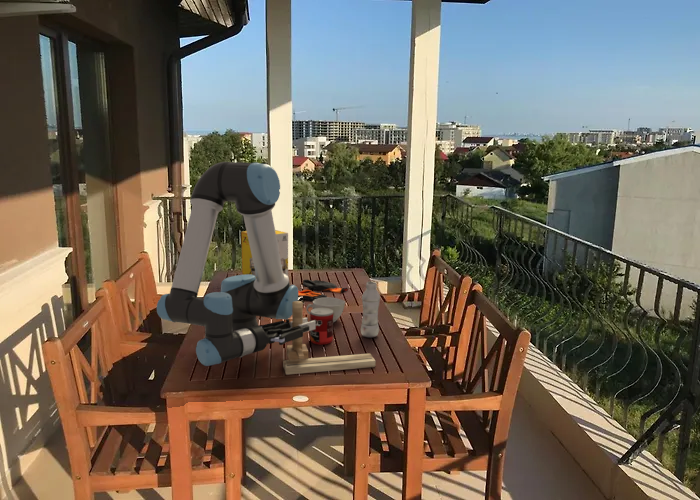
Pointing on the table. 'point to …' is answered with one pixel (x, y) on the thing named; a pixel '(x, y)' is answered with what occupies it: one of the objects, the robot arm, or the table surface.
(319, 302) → the teacup
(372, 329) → the plastic bottle
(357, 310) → the table surface
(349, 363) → the board
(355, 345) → the table surface
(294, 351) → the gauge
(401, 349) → the table surface
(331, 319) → the canned food
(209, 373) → the table surface
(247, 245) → the packaging box
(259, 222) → the robot arm
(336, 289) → the pair of gloves
